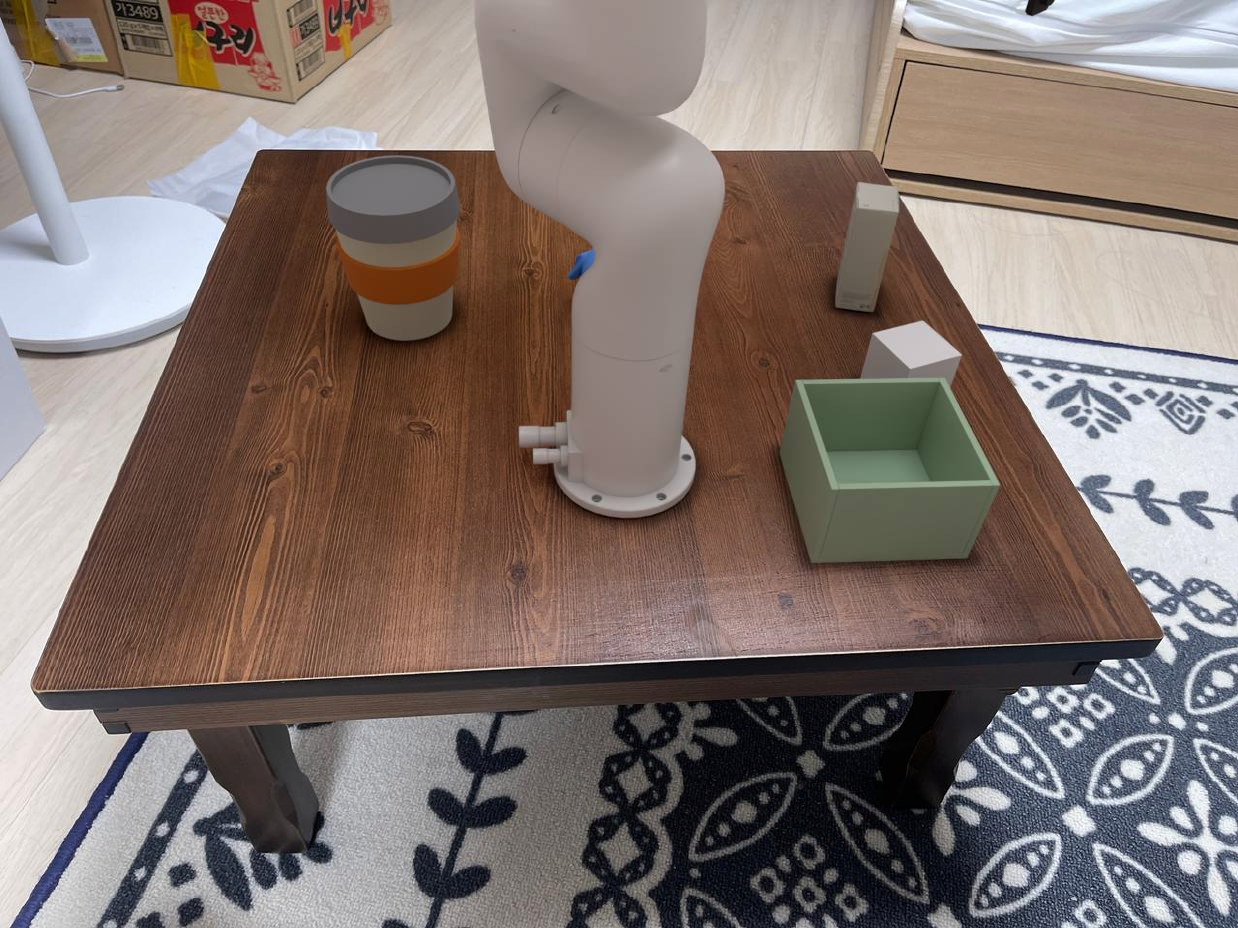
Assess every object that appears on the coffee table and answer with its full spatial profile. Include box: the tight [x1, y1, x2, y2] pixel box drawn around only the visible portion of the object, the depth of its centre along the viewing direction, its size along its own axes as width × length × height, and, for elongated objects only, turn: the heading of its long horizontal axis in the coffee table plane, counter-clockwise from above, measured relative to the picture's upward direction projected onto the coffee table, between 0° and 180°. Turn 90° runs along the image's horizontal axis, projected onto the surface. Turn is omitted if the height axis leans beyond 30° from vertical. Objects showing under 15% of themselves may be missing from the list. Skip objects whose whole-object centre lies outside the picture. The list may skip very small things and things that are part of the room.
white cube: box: [859, 320, 963, 388], centre depth 91 cm, size 6×6×6 cm
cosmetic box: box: [834, 181, 900, 313], centre depth 101 cm, size 6×4×12 cm
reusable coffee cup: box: [325, 154, 461, 342], centre depth 94 cm, size 13×12×15 cm
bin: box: [779, 378, 1001, 564], centre depth 78 cm, size 13×13×9 cm
